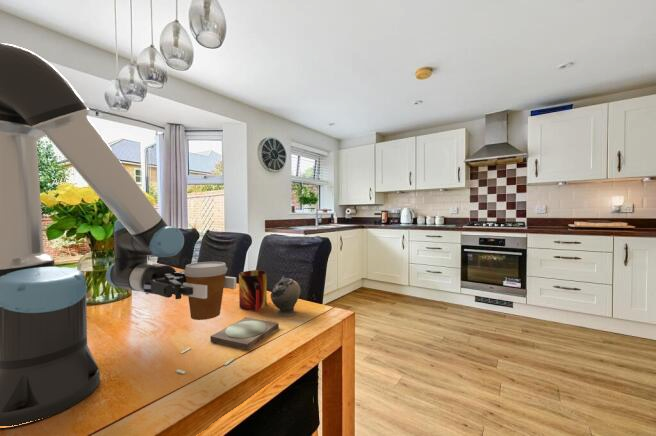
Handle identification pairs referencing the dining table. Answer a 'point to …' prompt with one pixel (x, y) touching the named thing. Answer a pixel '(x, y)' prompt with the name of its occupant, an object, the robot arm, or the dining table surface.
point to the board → (244, 333)
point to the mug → (252, 290)
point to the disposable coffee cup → (214, 280)
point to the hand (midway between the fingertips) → (221, 287)
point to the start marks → (189, 349)
